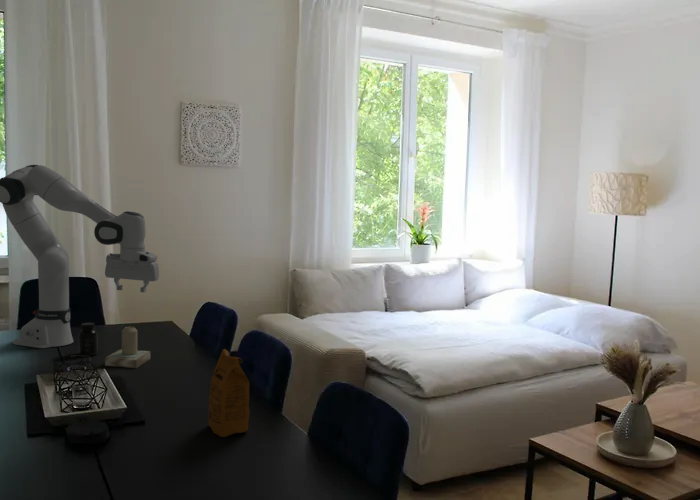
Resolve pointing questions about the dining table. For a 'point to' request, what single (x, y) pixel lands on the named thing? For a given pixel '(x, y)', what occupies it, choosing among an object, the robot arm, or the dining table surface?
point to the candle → (129, 341)
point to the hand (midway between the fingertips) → (131, 291)
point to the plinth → (127, 359)
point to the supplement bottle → (88, 339)
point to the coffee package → (228, 397)
